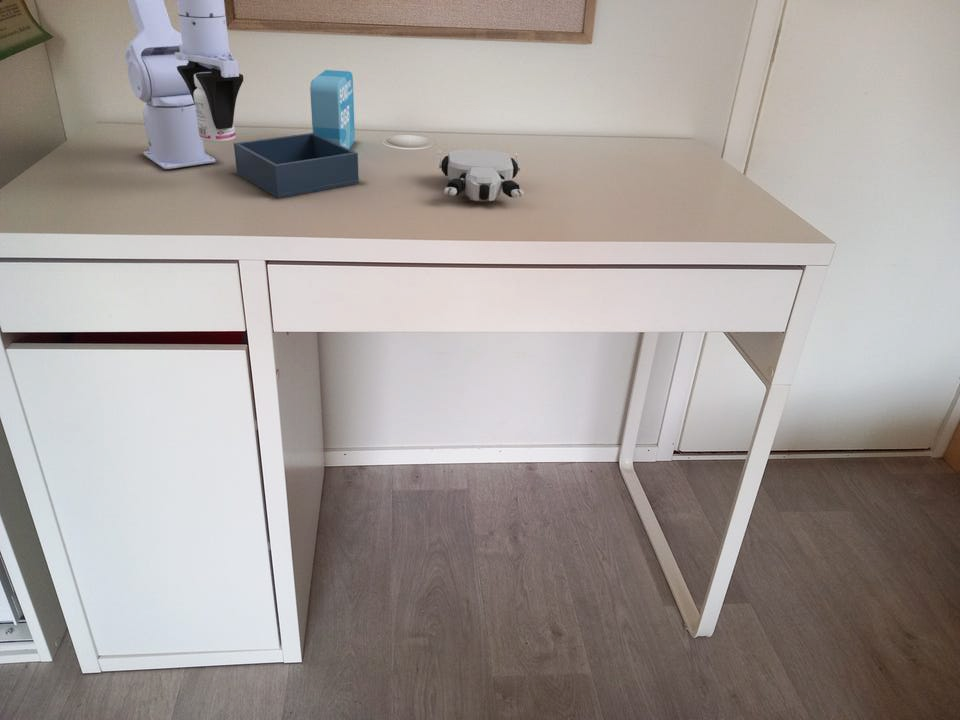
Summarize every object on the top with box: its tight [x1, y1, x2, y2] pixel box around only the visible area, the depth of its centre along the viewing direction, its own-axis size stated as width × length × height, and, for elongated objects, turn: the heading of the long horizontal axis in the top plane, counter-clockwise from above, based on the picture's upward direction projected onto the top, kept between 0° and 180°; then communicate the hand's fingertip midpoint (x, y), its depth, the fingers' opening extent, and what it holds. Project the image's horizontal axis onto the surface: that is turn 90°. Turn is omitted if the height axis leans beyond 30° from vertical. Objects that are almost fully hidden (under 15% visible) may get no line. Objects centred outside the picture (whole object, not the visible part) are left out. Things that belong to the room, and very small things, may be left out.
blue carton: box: [309, 69, 356, 149], centre depth 122 cm, size 12×4×12 cm, turn 178°
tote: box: [233, 132, 360, 199], centre depth 109 cm, size 13×13×5 cm
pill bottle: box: [194, 72, 236, 143], centre depth 99 cm, size 5×5×8 cm
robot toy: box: [438, 148, 525, 203], centre depth 109 cm, size 12×4×15 cm
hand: (216, 123), depth 101 cm, fingers closed on pill bottle, 5 cm apart
